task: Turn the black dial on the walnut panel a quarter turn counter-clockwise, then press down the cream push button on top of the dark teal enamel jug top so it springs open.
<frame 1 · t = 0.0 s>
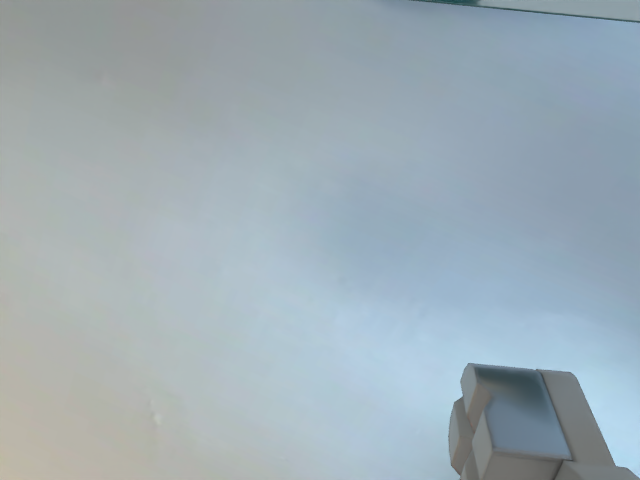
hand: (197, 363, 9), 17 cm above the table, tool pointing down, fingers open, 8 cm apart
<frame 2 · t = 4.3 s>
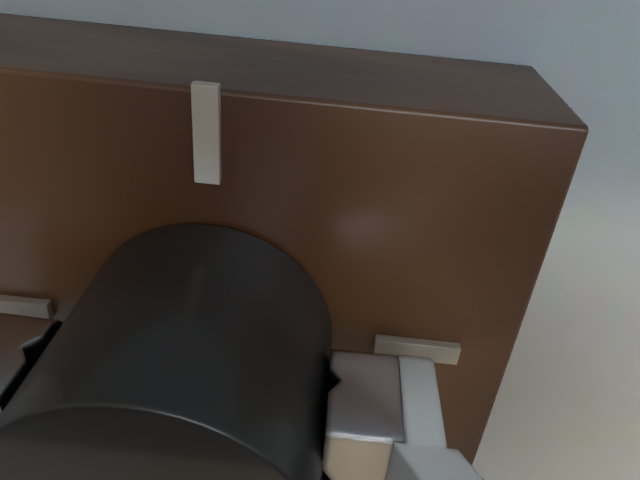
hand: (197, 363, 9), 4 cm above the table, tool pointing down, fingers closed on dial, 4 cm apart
dial: (181, 416, 8), point 5 cm above the table, hinge at 0.2°, touching gripper
dial panel: (244, 232, 12), on the table
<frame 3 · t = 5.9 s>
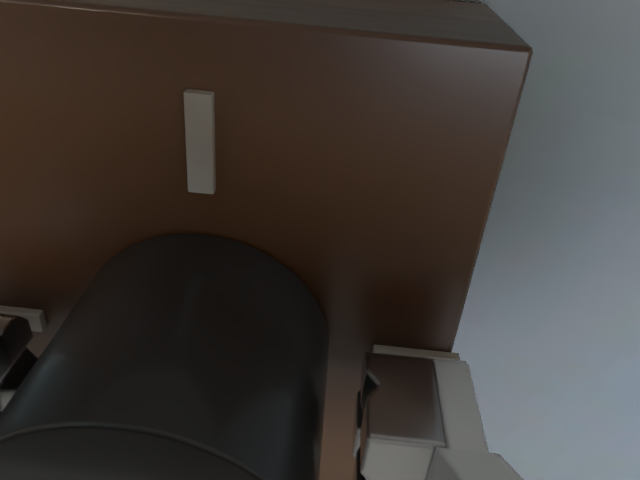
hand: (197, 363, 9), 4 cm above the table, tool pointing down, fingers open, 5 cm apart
dial: (174, 430, 8), point 5 cm above the table, hinge at 82.1°
dial panel: (241, 239, 12), on the table
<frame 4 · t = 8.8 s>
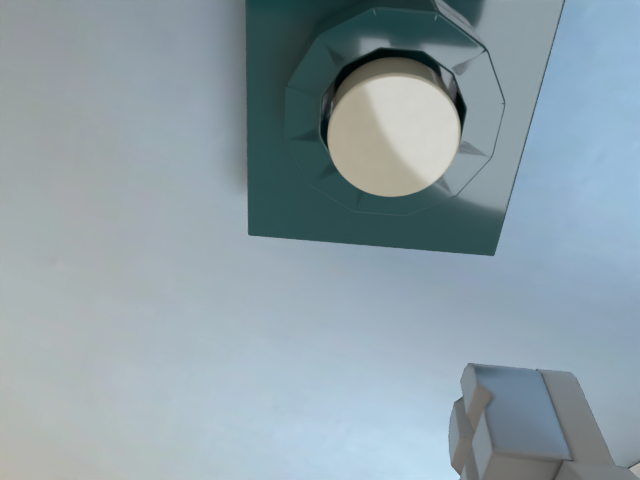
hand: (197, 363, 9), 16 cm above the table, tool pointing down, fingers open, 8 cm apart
jug button: (392, 128, 18), point 5 cm above the table, slide at 0.1 cm
jug top: (386, 75, 22), on the table
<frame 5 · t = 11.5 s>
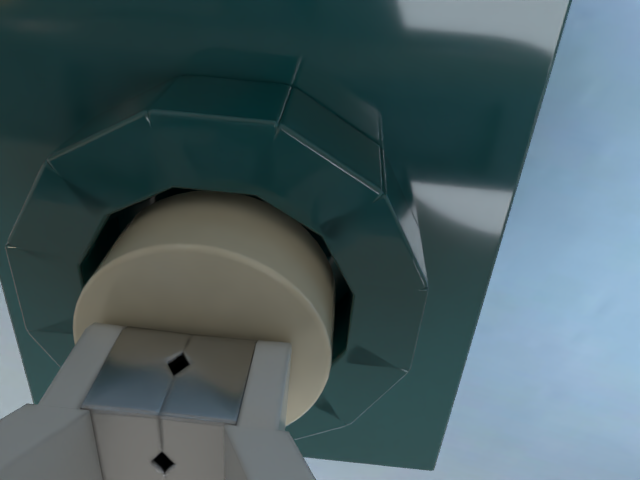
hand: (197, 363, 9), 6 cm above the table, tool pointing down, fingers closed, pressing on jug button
jug button: (213, 319, 9), point 5 cm above the table, slide at -0.2 cm, touching gripper
jug top: (261, 181, 14), on the table
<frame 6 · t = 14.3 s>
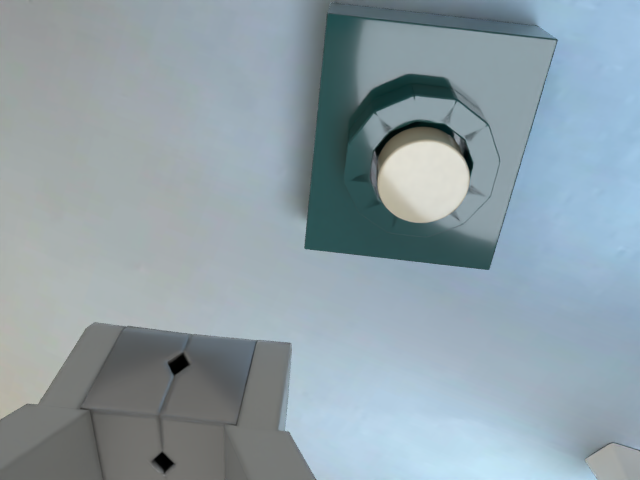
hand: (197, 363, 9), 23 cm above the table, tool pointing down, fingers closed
jug button: (421, 175, 26), point 5 cm above the table, slide at 0.1 cm
perfume bottle: (612, 457, 42), on the table
jug top: (412, 133, 30), on the table
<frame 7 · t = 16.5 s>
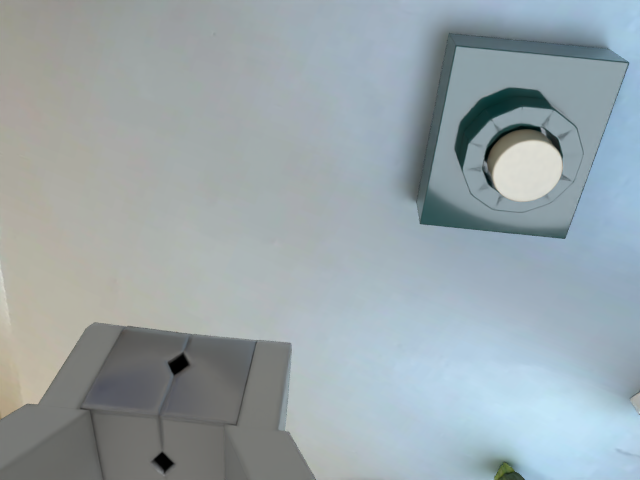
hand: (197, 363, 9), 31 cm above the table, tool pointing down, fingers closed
jug button: (523, 165, 34), point 5 cm above the table, slide at 0.1 cm
jug top: (504, 132, 39), on the table
vegetable: (506, 469, 57), on the table
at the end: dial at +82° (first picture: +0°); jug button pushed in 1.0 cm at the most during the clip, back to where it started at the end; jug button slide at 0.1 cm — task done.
